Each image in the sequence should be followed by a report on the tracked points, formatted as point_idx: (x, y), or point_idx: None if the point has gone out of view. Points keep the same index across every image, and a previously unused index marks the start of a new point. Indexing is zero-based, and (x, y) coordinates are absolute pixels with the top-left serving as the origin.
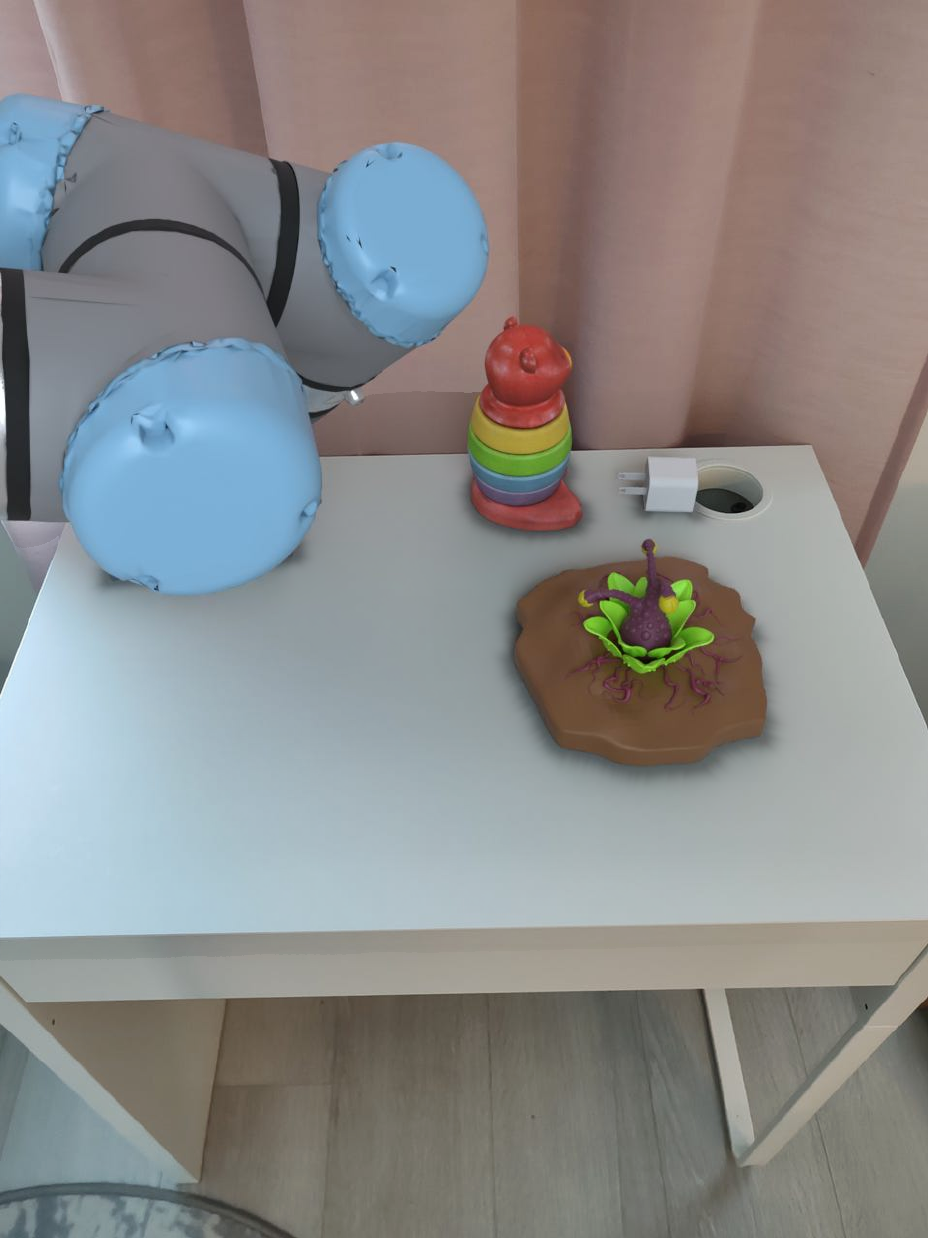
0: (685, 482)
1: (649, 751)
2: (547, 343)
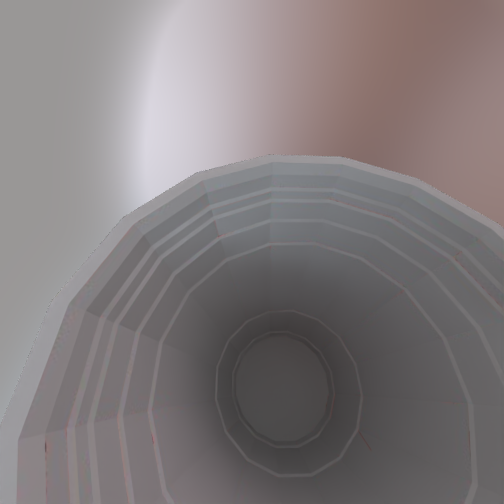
0: None
1: None
2: None
